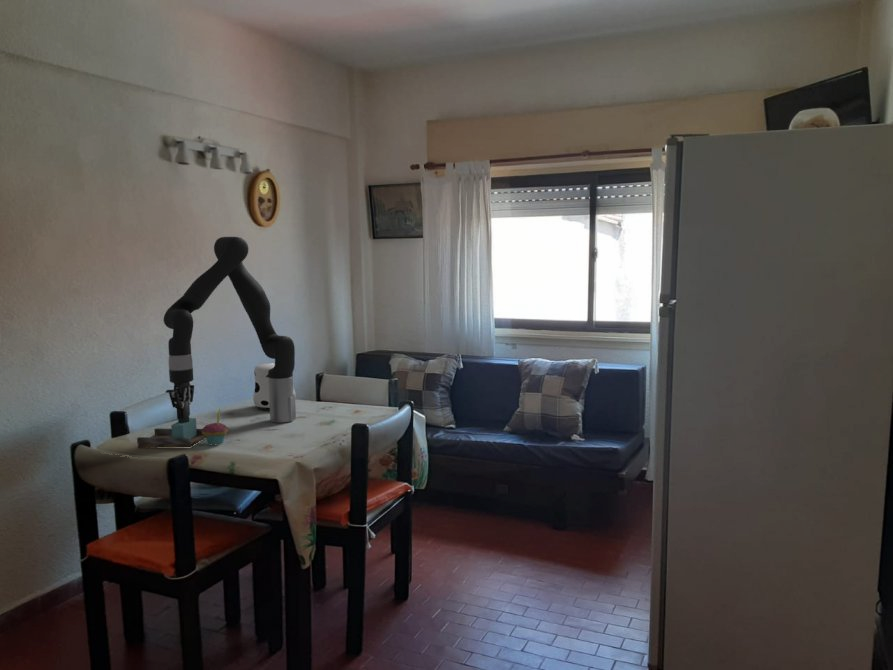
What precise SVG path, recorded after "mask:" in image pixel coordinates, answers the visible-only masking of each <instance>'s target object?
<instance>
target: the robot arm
mask: <svg viewBox="0 0 893 670" xmlns="http://www.w3.org/2000/svg"><path fill="white" fill-rule="evenodd" d="M248 245H249V244H248V243H247V241H246V240H245V239H244V238H242V237H239V236H221V237H219V238H217V239H216V240H215V242H214V245H213V252H214V254H215V257H216V259H217V261H215V263H214V264H213V265H212V266H211V267H209V268H208V269H207V270H206V271H205V272H203V273H202V274H201V275H200V276H198V277H197V278H196V279H195V280H194V281H193V282H192V283H191V284H190V286H189V287H188V288H187V290H186V291H185V292H184V293H183V295H182V296H181V297H180V298H178V299H177V300H176V301H175V302H174V303H172V304H171V306H170V307H168V309H167V310H166V312H165V313H164V315H163V323H164V325H165V326H166V327H167V328H168V329H171V330H172V337H170V338H169V339H168V373H169V374H168V375H169V382H170V383H171V384H173V391H170V392H169V393H168V394H169V398H170V403H171V406H172V408H175V409H176V419H177V420H178V419H184V401H188V405H189V416H190V415H191V412H190V411H191V410H190V406H191V403H192V402H193V400H194V393H195V385H194V384H191V382H192V381H193V380H194V366H193V365H194V364H193V363H194V362H193V357H192V343H191V341H192V336H193V330H194V318H193V316H192V313H193V312H195V311H197V310H200V309H201V308H202V306H204V304H205V303H206V302H207V301H208V299H209V297H210V296H211V295H212V294H213V293H214V291H215V290H216V289H217V287H218V286H220V284H221V283H222V282H223V281H224V280H225V279H226V278H227V277H228V278H229V280H230V282H231V284H232V286H233V288H234V289H235V290H234V291H235V292H236V295H237V296H238V298H239V301H240V302H241V305H242V307H243V309H244V311H245V312H246V314H247V315H248V318H249V320H250V322H251V324H252V326H253V329H254V330H255V332H256V335H257V338H258V340H259V343H260V346H261V349H262V352H263V353H264V355H265V356H266V357H267V358H269V359H273V360H274V363H275V366H274V367H273V368H272V369H270V370H269V371H268V382H269V407H270V410H269V421H270V422H271V423H277V424H278V423H291V422H293V421H294V420H295V419H297V417H296V416H297V413H296V412H297V411H296V397H295V395H296V394H295V395H293V387H294V376H293V375H294V374H293V373H294V370H295V364H296V362H295V357H296V356H295V355H296V353H295V352H296V349H295V348H296V347H295V342H294V341H293V338H291V337H290V336H287V335H279V334H278V333H277V332H276V330H275V329H274V326H273V324H272V322H271V303H270V300H269V298H268V296H267V294H266V291H265V290H264V288H263V287H262V285H261V284H260V283H259V282H258V281H257V280H256V279H255V277H254V276H253V275H252V274H251V273H250V272H249V271H248V270H247V268H246V266H245V265H244V264H243V262H244V260H246V258H247V256H248V255H249V246H248ZM180 401H181V402H180Z"/></svg>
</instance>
